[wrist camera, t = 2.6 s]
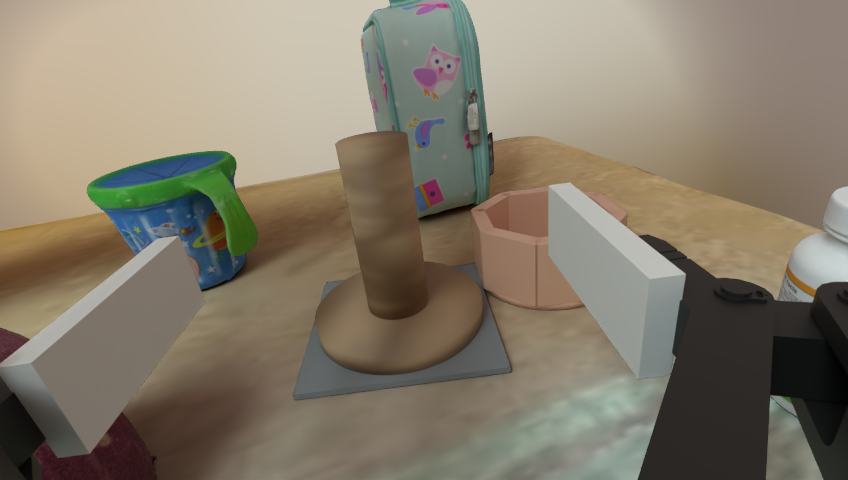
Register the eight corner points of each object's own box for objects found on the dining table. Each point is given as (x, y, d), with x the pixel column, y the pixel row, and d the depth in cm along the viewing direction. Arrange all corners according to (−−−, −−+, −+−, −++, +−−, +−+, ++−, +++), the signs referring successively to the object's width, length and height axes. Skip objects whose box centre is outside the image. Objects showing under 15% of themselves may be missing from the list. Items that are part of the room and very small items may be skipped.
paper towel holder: (303, 386, 24) (239, 180, 19) (331, 284, 34) (294, 132, 29) (499, 361, 24) (489, 149, 19) (469, 267, 34) (457, 111, 29)
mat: (294, 400, 23) (292, 394, 23) (327, 286, 34) (326, 282, 34) (510, 372, 23) (510, 366, 23) (474, 267, 34) (474, 263, 34)
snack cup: (109, 283, 40) (56, 178, 35) (214, 237, 47) (181, 146, 43) (190, 333, 31) (132, 200, 26) (304, 266, 38) (274, 154, 34)
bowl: (492, 318, 28) (488, 251, 26) (469, 251, 37) (465, 196, 35) (643, 299, 28) (651, 230, 26) (583, 236, 37) (585, 181, 35)
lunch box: (510, 220, 42) (502, -34, 33) (408, 241, 40) (370, -20, 31) (442, 159, 66) (426, 2, 57) (376, 170, 64) (349, 10, 55)
